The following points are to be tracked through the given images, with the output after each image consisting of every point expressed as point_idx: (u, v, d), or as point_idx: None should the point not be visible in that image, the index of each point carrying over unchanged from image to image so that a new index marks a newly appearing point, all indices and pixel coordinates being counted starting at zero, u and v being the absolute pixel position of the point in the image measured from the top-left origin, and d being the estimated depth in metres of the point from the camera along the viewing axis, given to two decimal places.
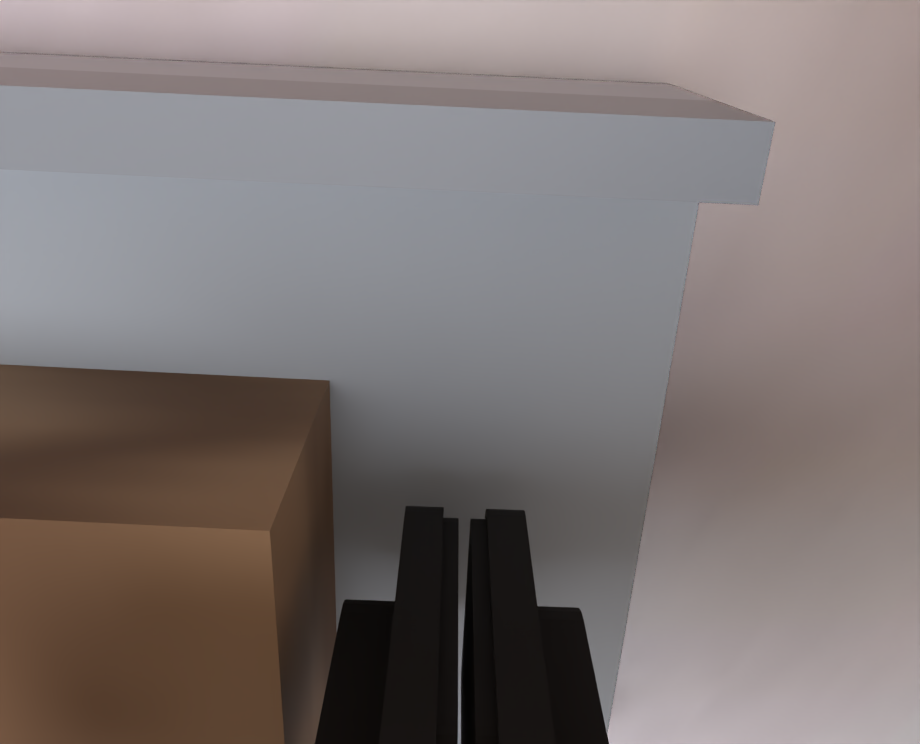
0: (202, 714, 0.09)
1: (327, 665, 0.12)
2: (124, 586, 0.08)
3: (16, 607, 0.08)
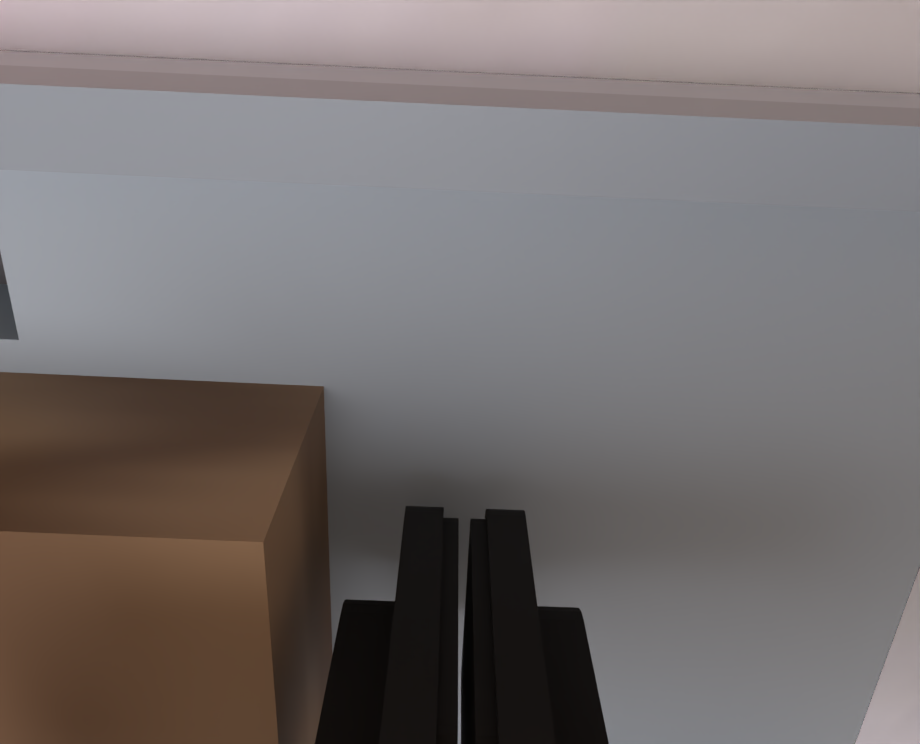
0: (195, 726, 0.09)
1: (322, 673, 0.12)
2: (114, 598, 0.08)
3: (3, 621, 0.08)
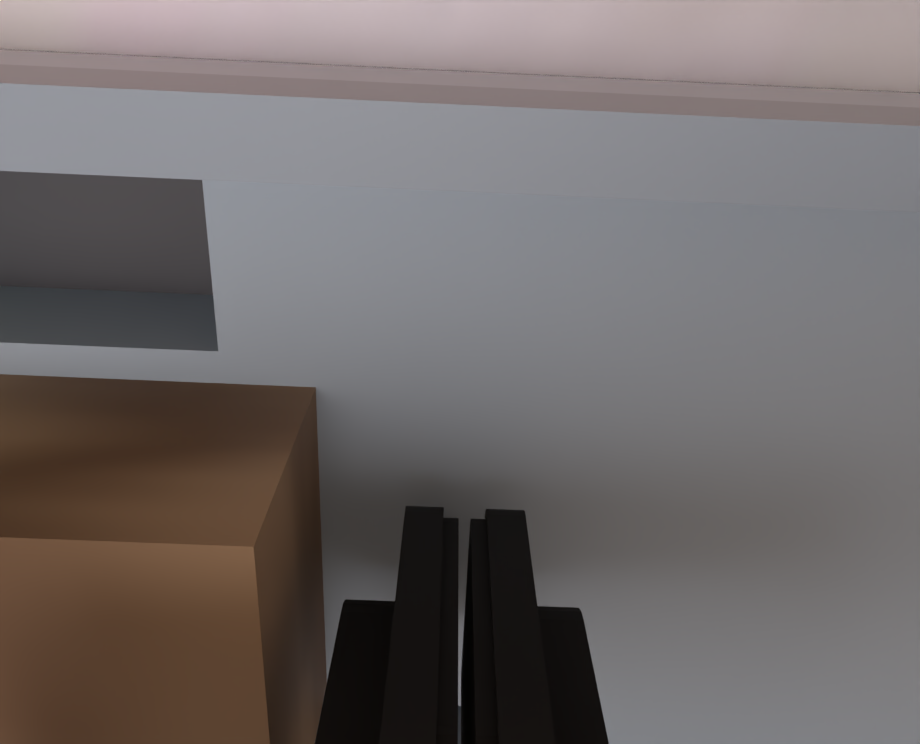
0: (186, 734, 0.09)
1: (316, 677, 0.12)
2: (101, 605, 0.08)
3: None
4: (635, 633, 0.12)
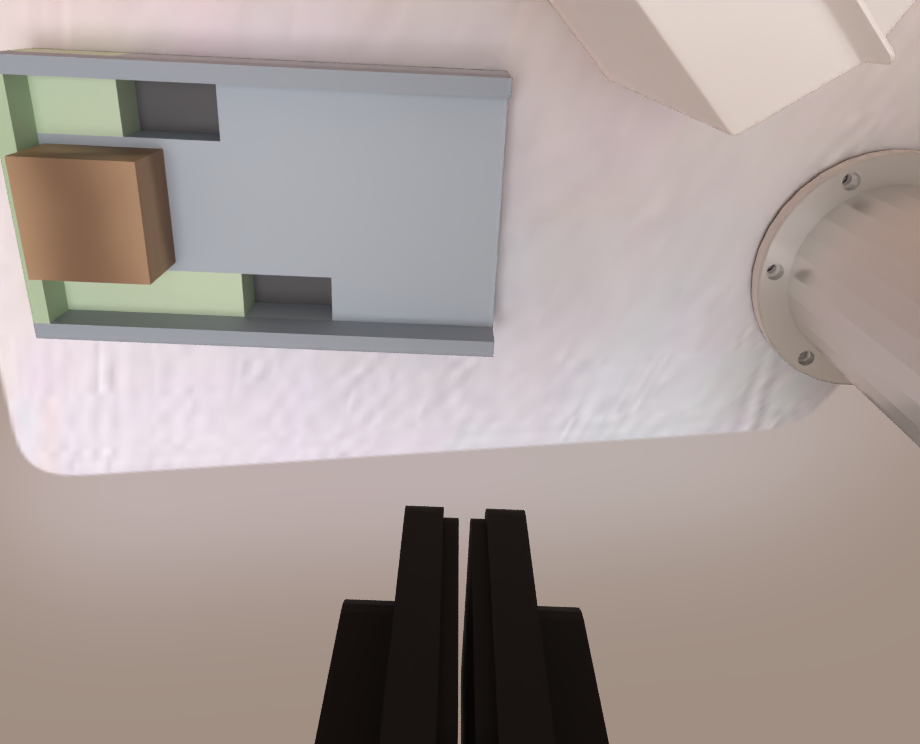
0: (121, 220, 0.34)
1: (167, 247, 0.37)
2: (100, 179, 0.33)
3: (73, 186, 0.34)
4: (356, 244, 0.38)
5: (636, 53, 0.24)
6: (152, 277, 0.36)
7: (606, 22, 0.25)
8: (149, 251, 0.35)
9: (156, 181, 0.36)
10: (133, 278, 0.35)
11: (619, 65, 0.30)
